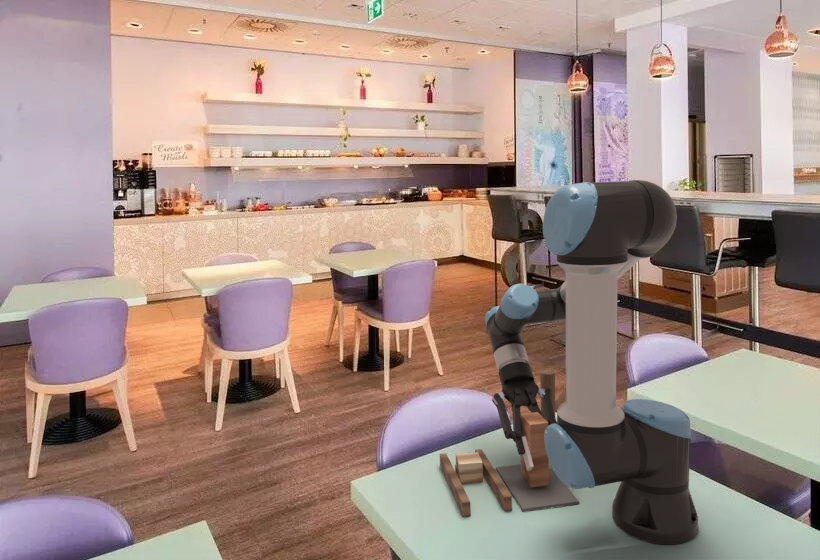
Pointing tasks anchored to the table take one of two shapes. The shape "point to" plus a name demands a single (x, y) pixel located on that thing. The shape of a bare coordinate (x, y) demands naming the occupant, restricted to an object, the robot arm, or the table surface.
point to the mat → (536, 490)
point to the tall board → (535, 449)
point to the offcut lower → (469, 477)
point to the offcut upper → (469, 463)
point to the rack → (489, 475)
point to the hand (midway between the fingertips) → (541, 467)
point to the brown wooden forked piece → (549, 382)
